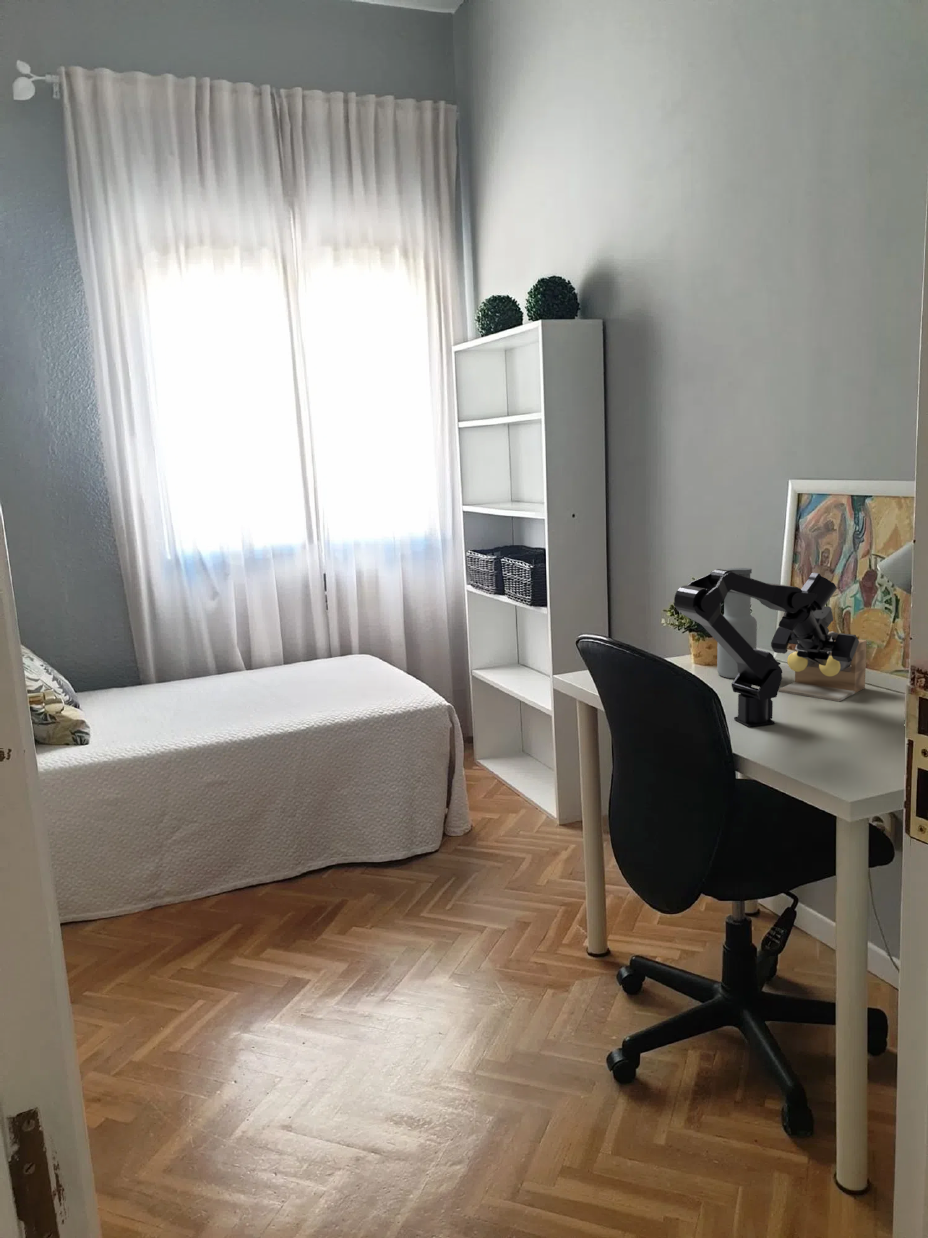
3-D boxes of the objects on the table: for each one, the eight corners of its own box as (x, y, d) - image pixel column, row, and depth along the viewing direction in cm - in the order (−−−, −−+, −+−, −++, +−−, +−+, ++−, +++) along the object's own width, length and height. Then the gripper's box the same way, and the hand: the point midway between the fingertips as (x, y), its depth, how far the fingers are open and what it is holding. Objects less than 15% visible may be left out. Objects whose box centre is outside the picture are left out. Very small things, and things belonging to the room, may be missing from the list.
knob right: (838, 677, 224) (839, 657, 223) (818, 674, 227) (819, 655, 226) (852, 671, 229) (853, 651, 228) (833, 668, 233) (833, 649, 232)
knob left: (806, 673, 229) (806, 653, 229) (787, 670, 233) (787, 650, 232) (820, 666, 235) (821, 647, 234) (801, 663, 238) (802, 645, 237)
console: (839, 701, 223) (840, 644, 220) (778, 691, 233) (779, 636, 231) (864, 688, 233) (866, 633, 230) (805, 679, 243) (807, 626, 241)
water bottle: (714, 678, 248) (715, 571, 242) (716, 669, 257) (717, 566, 251) (755, 680, 245) (757, 571, 239) (756, 670, 254) (757, 566, 248)
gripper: (857, 600, 210) (875, 640, 219) (777, 592, 223) (798, 631, 232) (840, 641, 206) (860, 680, 215) (760, 631, 219) (782, 669, 229)
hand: (824, 663), depth 223 cm, fingers closed
